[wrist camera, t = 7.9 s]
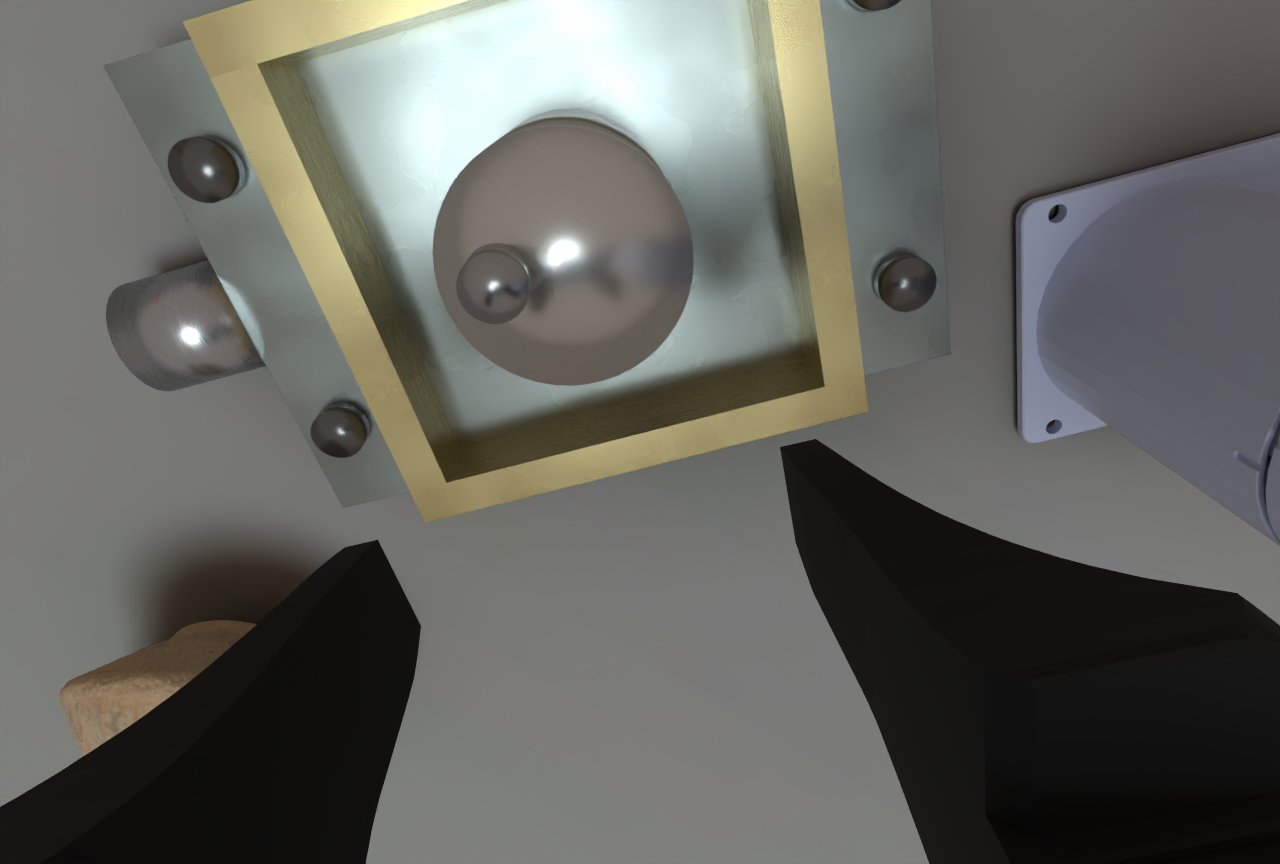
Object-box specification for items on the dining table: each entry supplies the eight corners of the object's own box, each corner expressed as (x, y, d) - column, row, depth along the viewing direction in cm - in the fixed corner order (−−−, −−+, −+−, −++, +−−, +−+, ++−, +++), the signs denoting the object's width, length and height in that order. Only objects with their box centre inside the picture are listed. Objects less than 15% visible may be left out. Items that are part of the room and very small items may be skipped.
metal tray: (876, -151, 17) (966, -220, 13) (915, 325, 22) (985, 382, 18) (55, 99, 18) (-100, 108, 14) (281, 488, 23) (217, 574, 19)
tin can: (653, 93, 16) (682, 106, 11) (677, 286, 19) (712, 381, 13) (457, 125, 17) (385, 156, 11) (503, 314, 19) (463, 421, 13)
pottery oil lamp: (35, 664, 26) (-140, 850, 20) (259, 495, 24) (137, 650, 17) (228, 785, 30) (129, 977, 24) (442, 651, 27) (396, 826, 21)
